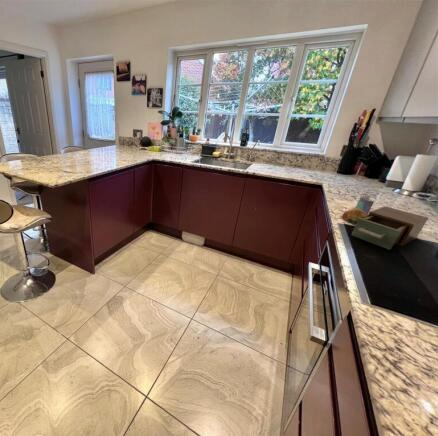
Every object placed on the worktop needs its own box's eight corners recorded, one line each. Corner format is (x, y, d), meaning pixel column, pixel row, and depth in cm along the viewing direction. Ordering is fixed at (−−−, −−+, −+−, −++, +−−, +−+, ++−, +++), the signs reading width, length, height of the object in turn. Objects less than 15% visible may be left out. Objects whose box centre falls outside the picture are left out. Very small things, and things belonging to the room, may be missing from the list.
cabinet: (401, 246, 92) (414, 224, 88) (359, 231, 103) (369, 211, 99) (416, 238, 99) (428, 217, 95) (375, 225, 110) (385, 206, 106)
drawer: (384, 253, 85) (394, 234, 82) (345, 237, 95) (352, 220, 92) (404, 241, 94) (415, 224, 90) (366, 228, 104) (374, 212, 100)
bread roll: (365, 231, 111) (377, 217, 109) (355, 225, 107) (367, 210, 105) (344, 222, 120) (355, 209, 118) (334, 216, 116) (345, 202, 113)
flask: (367, 218, 117) (377, 198, 113) (360, 217, 118) (369, 197, 114) (357, 211, 126) (366, 192, 121) (351, 210, 126) (359, 192, 122)
